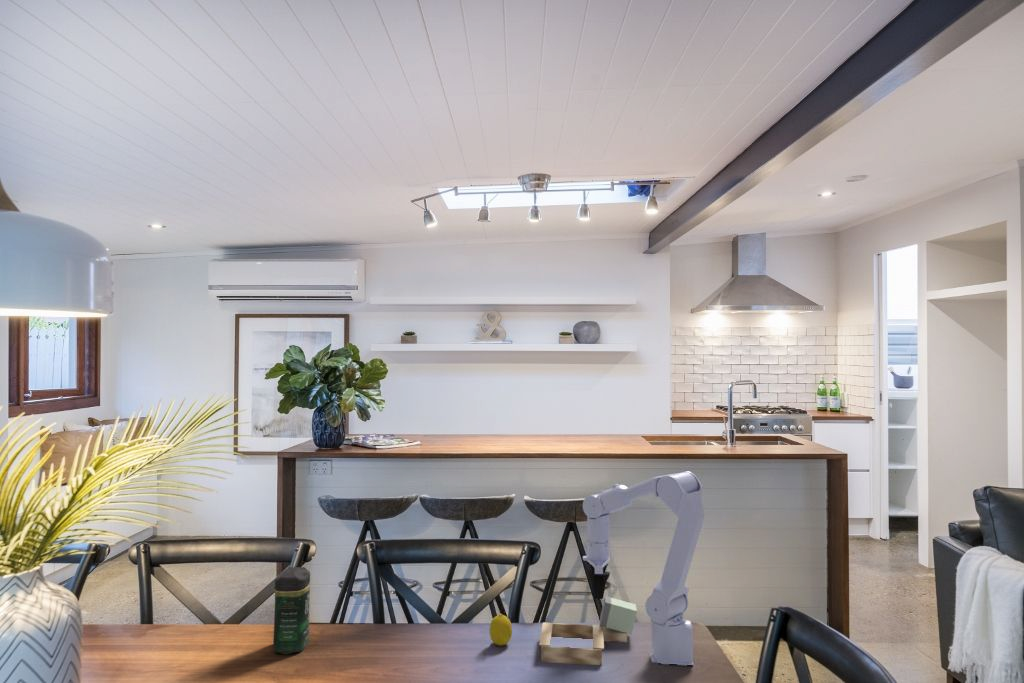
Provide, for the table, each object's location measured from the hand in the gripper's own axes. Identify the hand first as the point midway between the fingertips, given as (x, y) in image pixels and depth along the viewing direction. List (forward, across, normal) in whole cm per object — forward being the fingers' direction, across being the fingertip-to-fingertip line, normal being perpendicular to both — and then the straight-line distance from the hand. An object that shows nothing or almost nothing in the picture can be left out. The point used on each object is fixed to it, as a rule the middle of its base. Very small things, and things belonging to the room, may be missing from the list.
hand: (598, 593), depth 171 cm
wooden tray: (+10, +13, -6) cm, 18 cm away
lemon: (+10, +12, -24) cm, 29 cm away
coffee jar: (+10, +18, -75) cm, 78 cm away
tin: (+7, +4, +4) cm, 9 cm away
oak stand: (+10, +4, +4) cm, 11 cm away
